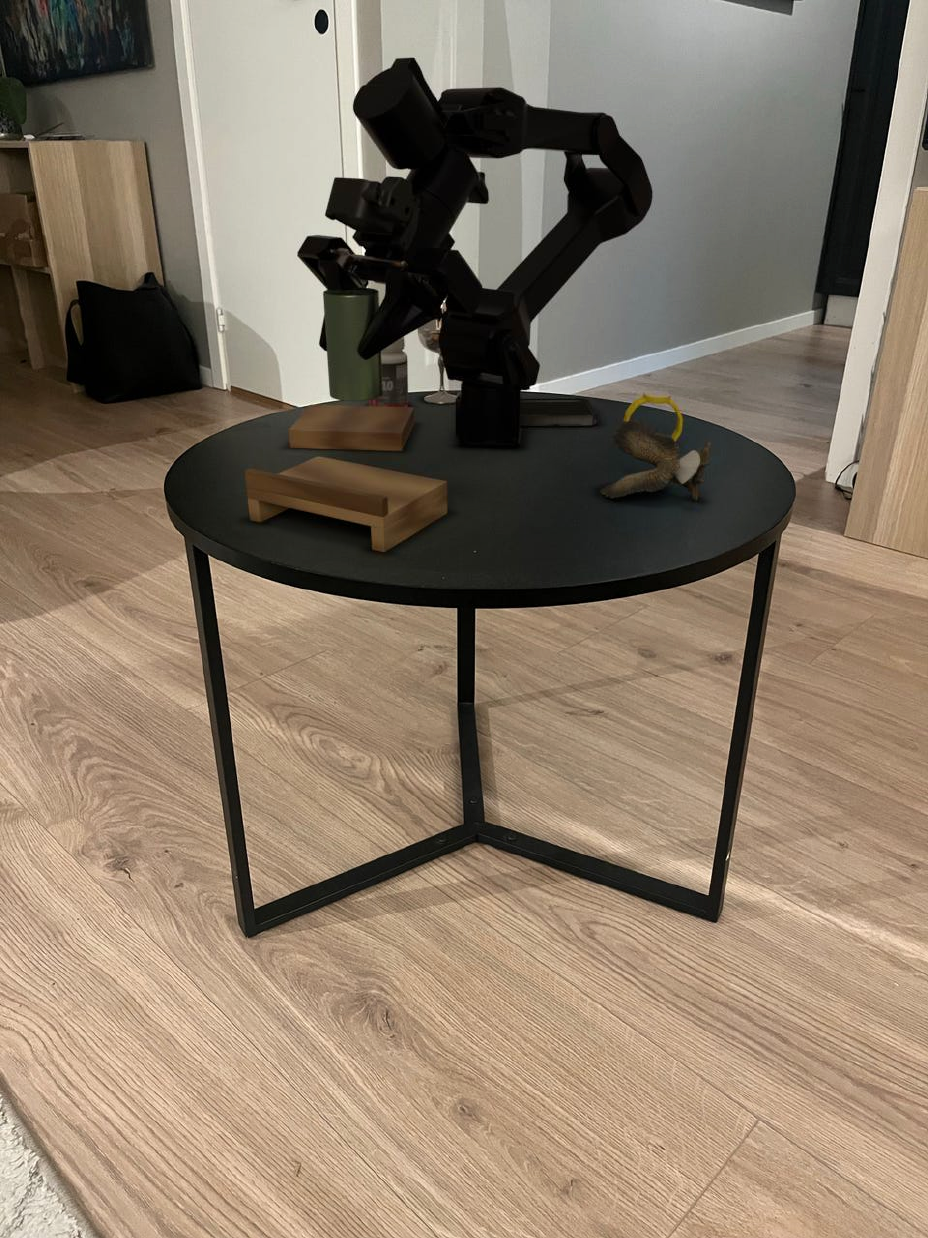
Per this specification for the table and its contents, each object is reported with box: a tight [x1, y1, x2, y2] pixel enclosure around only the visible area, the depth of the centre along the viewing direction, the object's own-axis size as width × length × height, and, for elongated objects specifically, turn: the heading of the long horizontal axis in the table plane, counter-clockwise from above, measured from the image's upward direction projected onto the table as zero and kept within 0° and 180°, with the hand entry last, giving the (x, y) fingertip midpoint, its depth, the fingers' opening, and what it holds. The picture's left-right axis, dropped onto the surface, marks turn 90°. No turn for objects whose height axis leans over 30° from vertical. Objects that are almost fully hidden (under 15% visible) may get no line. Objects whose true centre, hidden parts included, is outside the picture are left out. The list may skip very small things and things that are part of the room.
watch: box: [622, 390, 684, 443], centre depth 99 cm, size 6×3×6 cm, turn 89°
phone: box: [520, 397, 598, 427], centre depth 111 cm, size 8×1×15 cm
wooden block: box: [288, 404, 415, 452], centre depth 104 cm, size 12×10×2 cm
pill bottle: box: [368, 336, 409, 407], centre depth 113 cm, size 5×5×8 cm
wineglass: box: [416, 298, 457, 405], centre depth 116 cm, size 6×6×12 cm
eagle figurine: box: [599, 419, 712, 502], centre depth 87 cm, size 8×7×9 cm
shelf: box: [244, 455, 448, 553], centre depth 82 cm, size 10×14×4 cm
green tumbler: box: [322, 287, 383, 402], centre depth 85 cm, size 5×5×9 cm
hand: (341, 352), depth 84 cm, fingers closed on green tumbler, 5 cm apart
